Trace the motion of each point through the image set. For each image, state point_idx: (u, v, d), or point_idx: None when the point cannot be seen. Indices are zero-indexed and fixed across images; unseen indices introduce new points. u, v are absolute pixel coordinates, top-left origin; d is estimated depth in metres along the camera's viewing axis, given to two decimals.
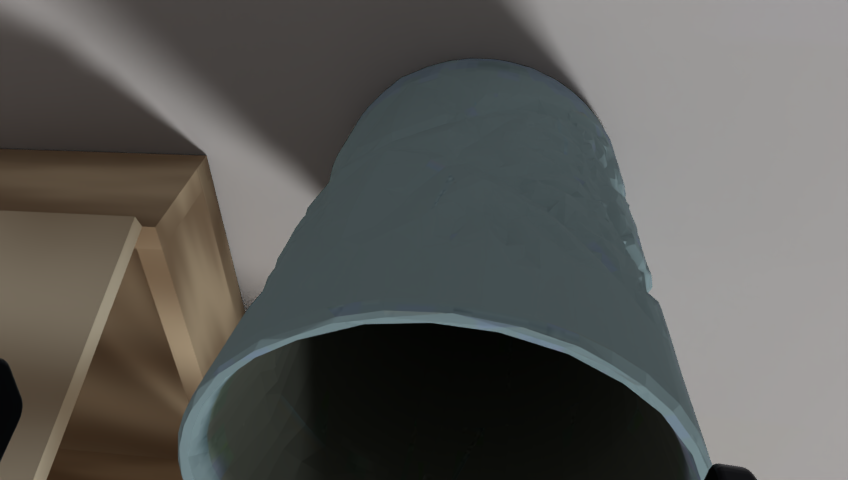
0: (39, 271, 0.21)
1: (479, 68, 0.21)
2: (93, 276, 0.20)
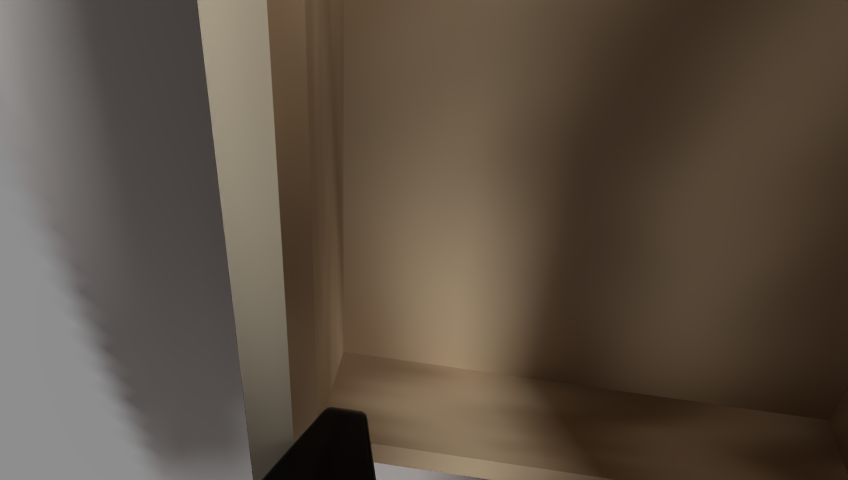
0: None
1: None
2: None
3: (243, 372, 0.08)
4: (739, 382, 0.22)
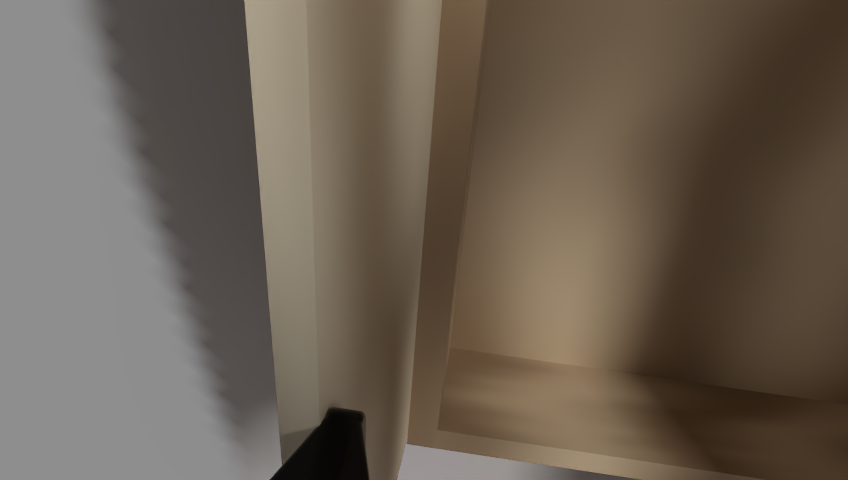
0: None
1: None
2: None
3: (274, 349, 0.08)
4: (847, 379, 0.22)
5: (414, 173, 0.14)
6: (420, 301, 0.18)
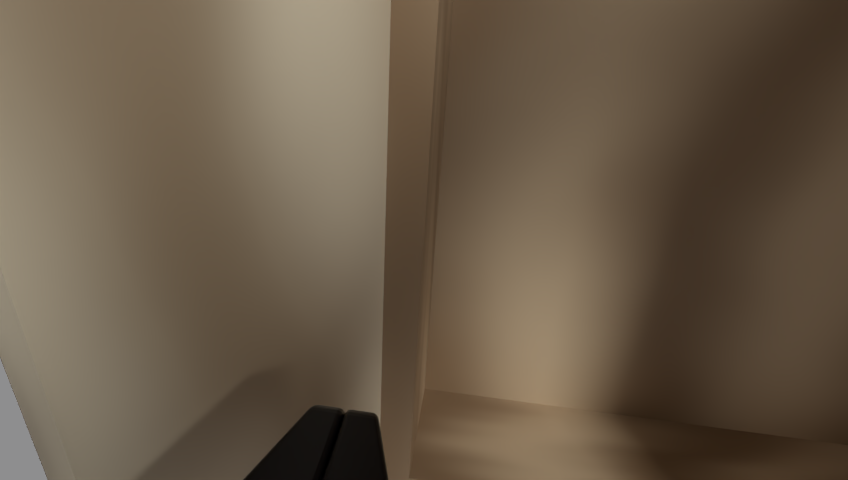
0: None
1: None
2: None
3: (12, 386, 0.08)
4: (837, 418, 0.21)
5: (337, 217, 0.13)
6: (384, 347, 0.18)
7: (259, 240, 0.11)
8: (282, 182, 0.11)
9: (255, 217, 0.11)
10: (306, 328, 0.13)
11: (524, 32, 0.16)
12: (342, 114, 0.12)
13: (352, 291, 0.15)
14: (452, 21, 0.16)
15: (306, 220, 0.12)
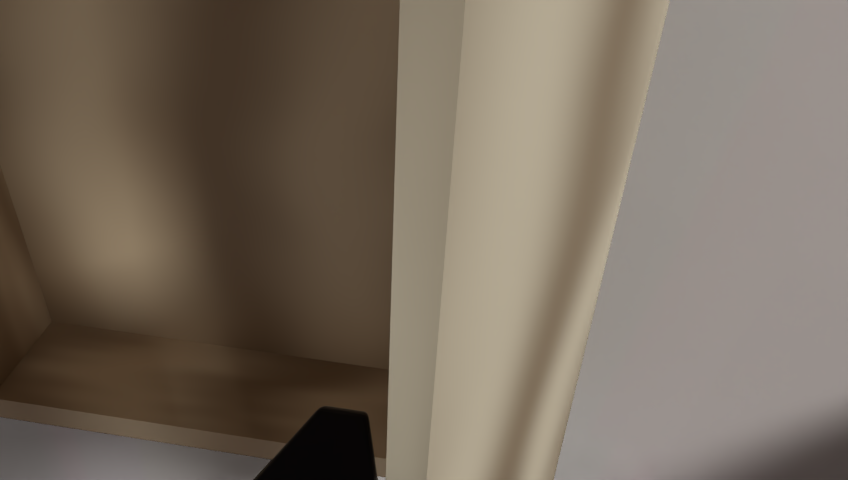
0: None
1: None
2: None
3: None
4: None
5: None
6: None
7: None
8: None
9: None
10: None
11: None
12: None
13: None
14: None
15: None
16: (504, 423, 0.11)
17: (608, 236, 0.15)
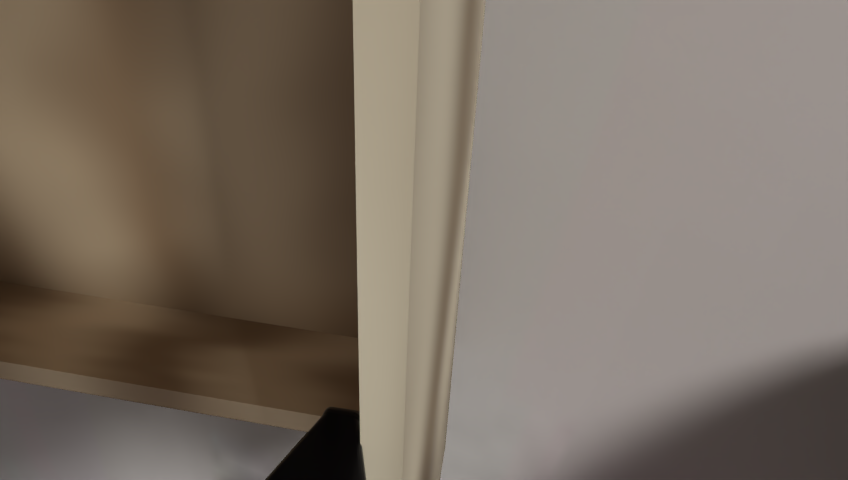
0: None
1: None
2: None
3: None
4: (329, 309, 0.23)
5: None
6: None
7: None
8: None
9: None
10: None
11: None
12: None
13: None
14: None
15: None
16: (430, 378, 0.12)
17: (467, 187, 0.15)
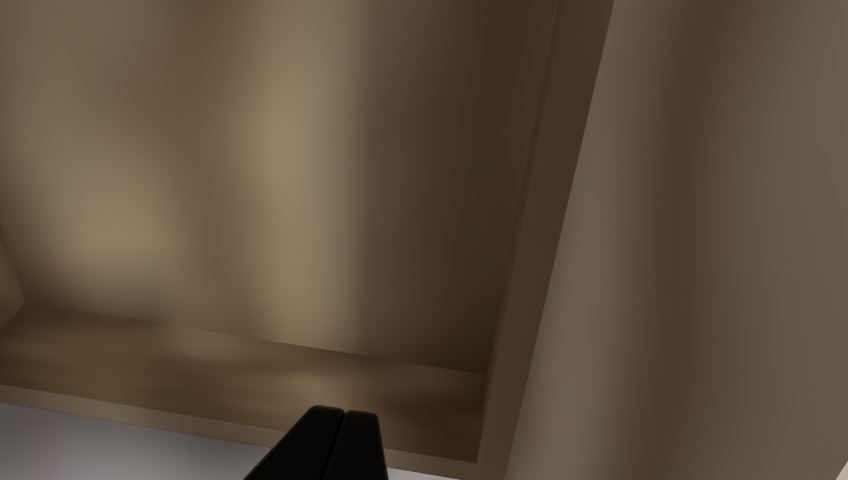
0: None
1: None
2: None
3: None
4: (393, 335, 0.22)
5: None
6: None
7: None
8: None
9: None
10: None
11: None
12: None
13: None
14: None
15: None
16: None
17: None
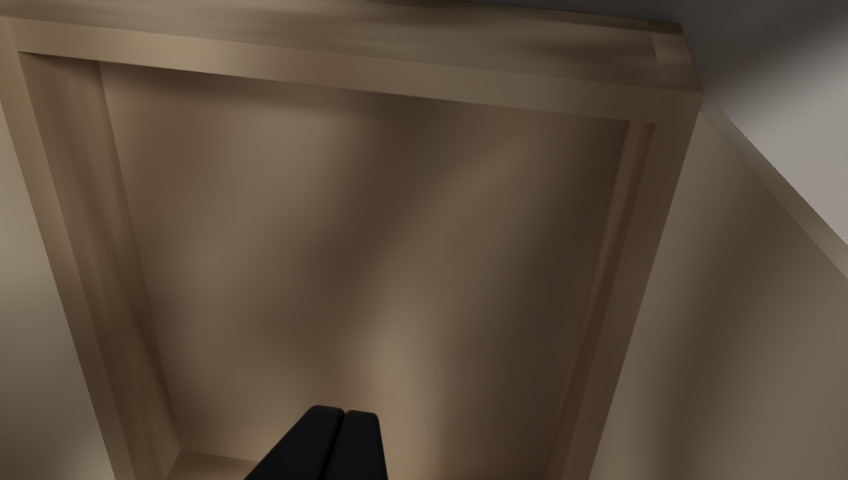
0: None
1: None
2: None
3: None
4: (466, 477, 0.30)
5: (17, 373, 0.21)
6: (103, 435, 0.26)
7: None
8: None
9: None
10: None
11: (180, 233, 0.24)
12: (5, 319, 0.21)
13: (49, 409, 0.23)
14: (133, 225, 0.24)
15: None
16: None
17: None
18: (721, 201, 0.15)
